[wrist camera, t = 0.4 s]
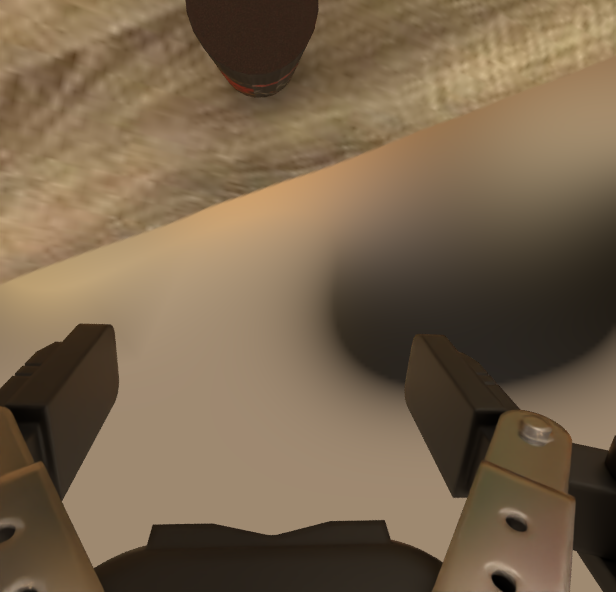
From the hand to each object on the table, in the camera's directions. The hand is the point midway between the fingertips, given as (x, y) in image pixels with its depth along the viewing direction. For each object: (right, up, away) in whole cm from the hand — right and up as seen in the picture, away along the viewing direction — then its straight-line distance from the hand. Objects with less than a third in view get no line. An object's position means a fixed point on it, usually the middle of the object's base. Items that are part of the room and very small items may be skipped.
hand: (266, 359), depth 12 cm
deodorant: (-3, +20, +22) cm, 30 cm away
